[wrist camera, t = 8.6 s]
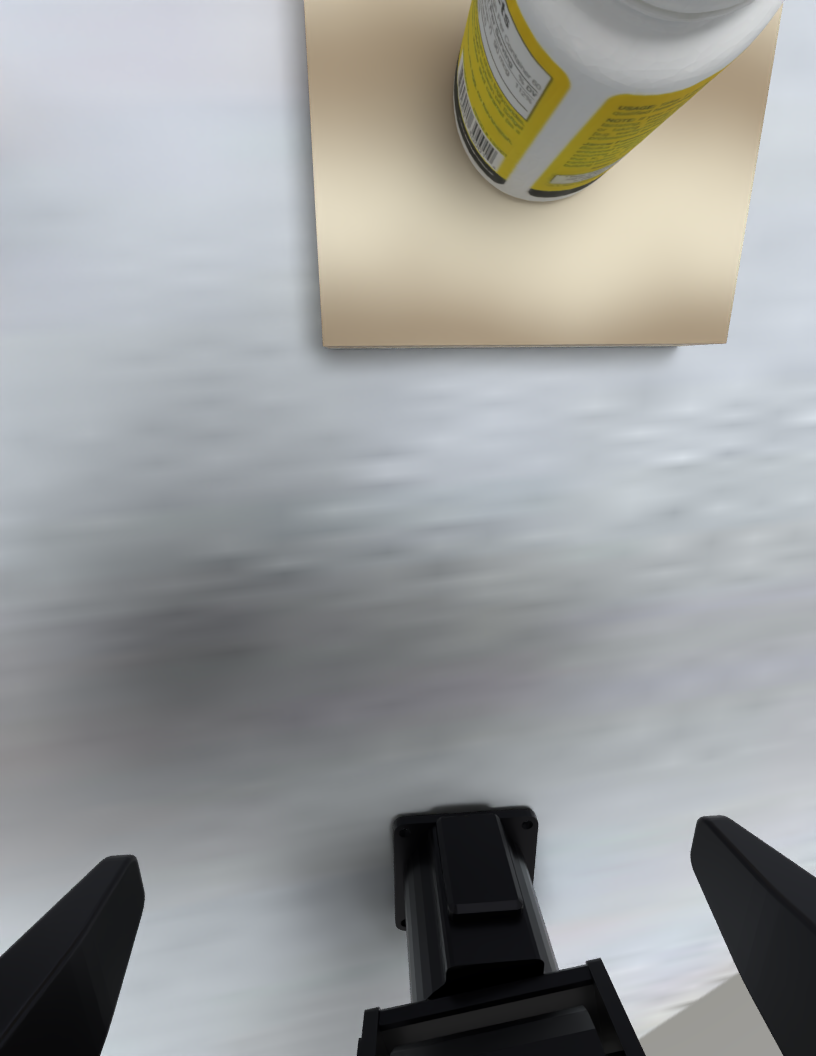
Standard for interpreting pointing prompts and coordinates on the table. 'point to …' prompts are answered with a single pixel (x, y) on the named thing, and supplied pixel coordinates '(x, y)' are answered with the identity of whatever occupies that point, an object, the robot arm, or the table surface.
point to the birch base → (513, 203)
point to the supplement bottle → (584, 81)
